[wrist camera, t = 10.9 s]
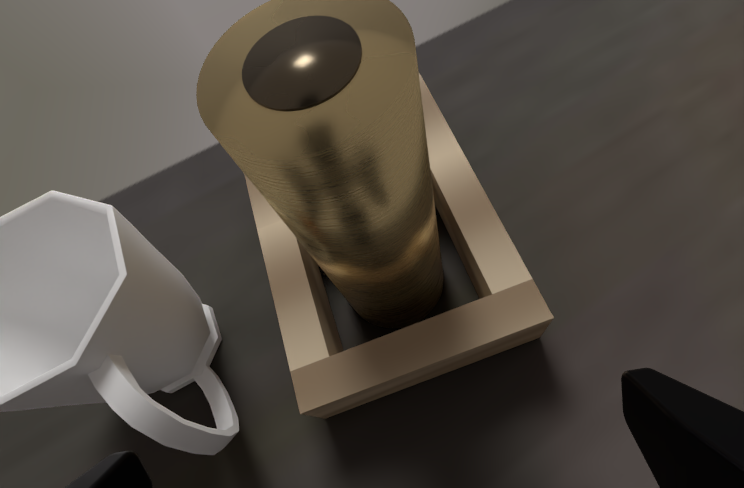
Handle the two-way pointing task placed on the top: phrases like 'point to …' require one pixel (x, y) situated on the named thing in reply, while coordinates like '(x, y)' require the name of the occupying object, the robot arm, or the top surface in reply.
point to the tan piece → (335, 143)
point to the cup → (103, 322)
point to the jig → (418, 341)
